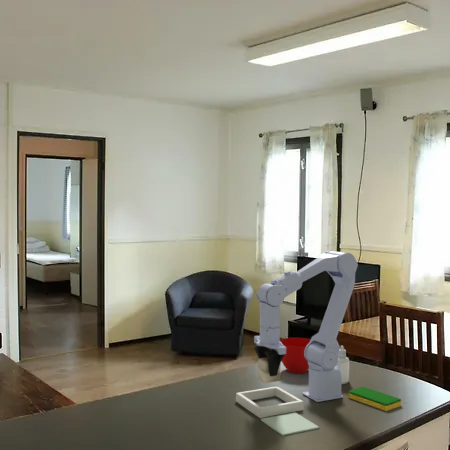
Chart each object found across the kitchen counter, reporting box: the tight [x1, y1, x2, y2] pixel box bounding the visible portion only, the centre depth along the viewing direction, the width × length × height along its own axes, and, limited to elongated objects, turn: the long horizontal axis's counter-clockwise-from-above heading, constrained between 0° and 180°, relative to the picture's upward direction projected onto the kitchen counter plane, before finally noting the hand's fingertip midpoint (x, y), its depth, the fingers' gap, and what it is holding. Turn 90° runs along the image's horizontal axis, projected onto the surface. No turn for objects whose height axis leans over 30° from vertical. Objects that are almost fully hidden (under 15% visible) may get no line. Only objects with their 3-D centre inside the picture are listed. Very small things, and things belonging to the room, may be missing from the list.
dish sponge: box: [348, 386, 402, 412], centre depth 168 cm, size 7×14×2 cm, turn 38°
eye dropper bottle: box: [336, 345, 350, 385], centre depth 184 cm, size 4×6×12 cm
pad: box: [260, 411, 320, 437], centre depth 150 cm, size 11×11×1 cm
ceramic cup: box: [280, 337, 311, 374], centre depth 196 cm, size 13×17×10 cm
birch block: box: [257, 357, 281, 384], centre depth 163 cm, size 5×4×6 cm
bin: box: [235, 386, 304, 419], centre depth 163 cm, size 14×14×2 cm
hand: (269, 373), depth 163 cm, fingers closed on birch block, 4 cm apart
